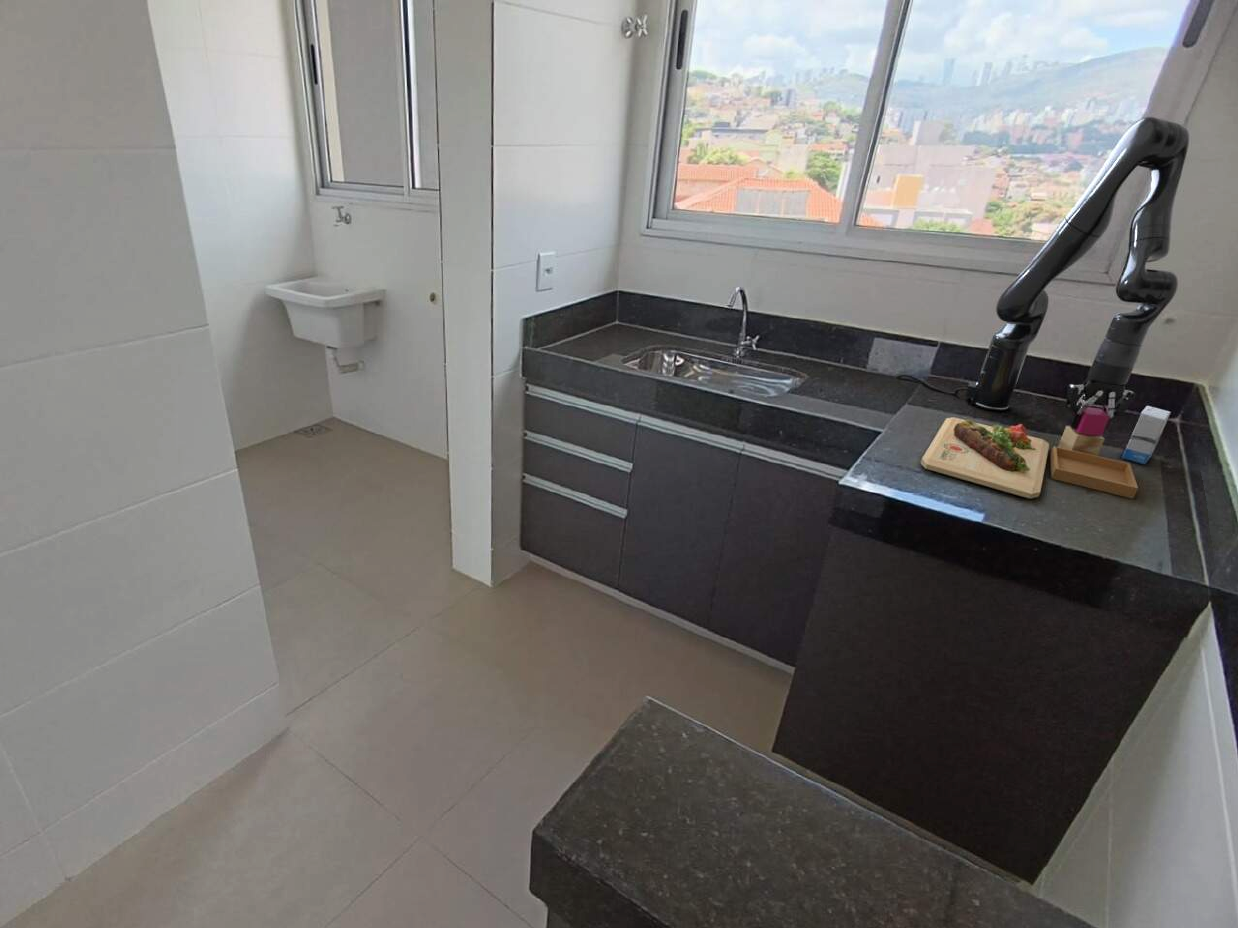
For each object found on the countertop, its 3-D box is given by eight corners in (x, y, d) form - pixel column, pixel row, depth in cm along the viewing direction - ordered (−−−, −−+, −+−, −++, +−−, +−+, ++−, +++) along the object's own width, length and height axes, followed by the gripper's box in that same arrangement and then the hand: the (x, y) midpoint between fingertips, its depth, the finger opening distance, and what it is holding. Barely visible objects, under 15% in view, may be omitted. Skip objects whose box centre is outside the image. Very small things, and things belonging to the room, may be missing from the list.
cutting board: (946, 421, 172) (954, 395, 169) (1047, 447, 161) (1058, 419, 158) (917, 468, 146) (927, 438, 142) (1036, 503, 135) (1049, 470, 131)
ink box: (1144, 465, 155) (1166, 420, 150) (1119, 458, 158) (1140, 413, 153) (1151, 455, 160) (1173, 411, 155) (1127, 448, 164) (1147, 404, 158)
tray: (1051, 478, 146) (1055, 468, 144) (1049, 455, 157) (1053, 446, 156) (1133, 498, 139) (1138, 488, 138) (1125, 473, 151) (1130, 463, 149)
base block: (1067, 458, 156) (1077, 435, 153) (1057, 447, 161) (1066, 425, 159) (1094, 461, 155) (1105, 438, 153) (1083, 450, 161) (1092, 428, 158)
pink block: (1078, 433, 154) (1087, 413, 151) (1069, 425, 158) (1077, 406, 156) (1101, 436, 153) (1110, 416, 151) (1091, 427, 157) (1099, 408, 155)
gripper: (1140, 359, 150) (1110, 426, 158) (1073, 352, 152) (1046, 419, 160) (1158, 369, 143) (1126, 439, 151) (1088, 362, 145) (1060, 431, 153)
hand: (1085, 428), depth 155 cm, fingers closed on pink block, 5 cm apart
